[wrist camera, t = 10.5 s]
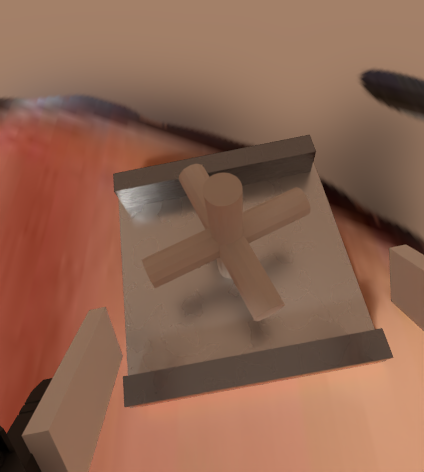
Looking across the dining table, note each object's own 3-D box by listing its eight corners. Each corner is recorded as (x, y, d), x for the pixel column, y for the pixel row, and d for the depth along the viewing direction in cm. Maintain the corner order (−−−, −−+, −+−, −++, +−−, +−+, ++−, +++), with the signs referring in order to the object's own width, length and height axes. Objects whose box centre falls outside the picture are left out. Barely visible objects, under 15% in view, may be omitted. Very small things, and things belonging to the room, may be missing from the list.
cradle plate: (137, 407, 23) (115, 408, 19) (124, 202, 30) (106, 175, 26) (378, 362, 22) (402, 355, 19) (308, 165, 29) (316, 133, 26)
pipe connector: (196, 366, 22) (162, 342, 13) (141, 240, 26) (88, 156, 17) (331, 296, 23) (386, 229, 14) (258, 186, 27) (264, 81, 18)
